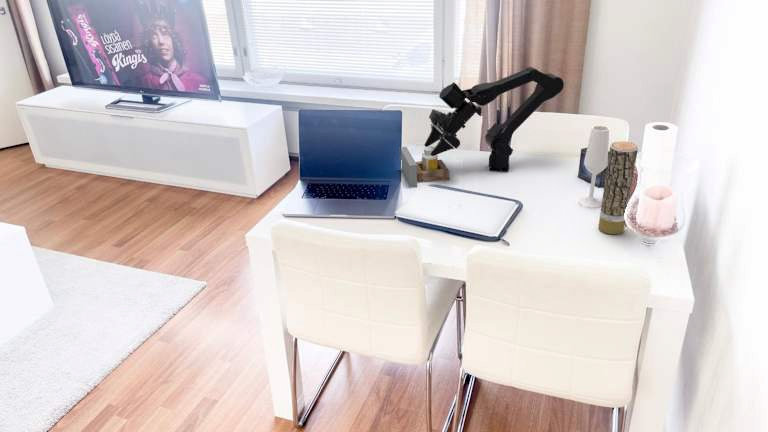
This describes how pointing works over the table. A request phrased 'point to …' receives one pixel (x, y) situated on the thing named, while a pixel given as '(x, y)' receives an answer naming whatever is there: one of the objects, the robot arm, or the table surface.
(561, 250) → the table surface
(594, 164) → the champagne flute
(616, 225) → the bark print cylinder
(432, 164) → the supplement bottle
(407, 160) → the grey backstop board
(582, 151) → the small box
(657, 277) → the table surface
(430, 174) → the walnut socket block
